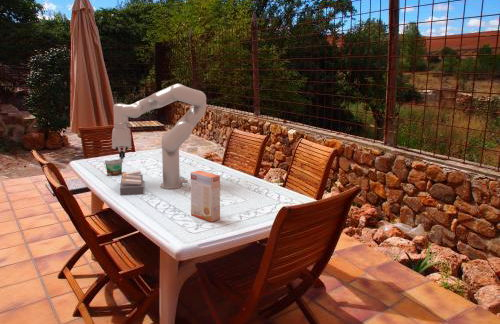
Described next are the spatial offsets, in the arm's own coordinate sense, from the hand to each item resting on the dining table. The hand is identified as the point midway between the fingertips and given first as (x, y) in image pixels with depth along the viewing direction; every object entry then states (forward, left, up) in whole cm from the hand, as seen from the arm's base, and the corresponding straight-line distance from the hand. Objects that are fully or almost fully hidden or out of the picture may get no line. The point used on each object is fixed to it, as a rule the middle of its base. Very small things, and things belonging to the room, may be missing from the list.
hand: (122, 158), depth 223 cm
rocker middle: (-5, 0, -11) cm, 12 cm away
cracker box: (-38, +57, -17) cm, 71 cm away
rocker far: (-5, -9, -11) cm, 15 cm away
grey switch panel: (-5, -2, -17) cm, 18 cm away
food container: (+5, -32, -17) cm, 37 cm away
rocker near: (-5, +9, -11) cm, 15 cm away
